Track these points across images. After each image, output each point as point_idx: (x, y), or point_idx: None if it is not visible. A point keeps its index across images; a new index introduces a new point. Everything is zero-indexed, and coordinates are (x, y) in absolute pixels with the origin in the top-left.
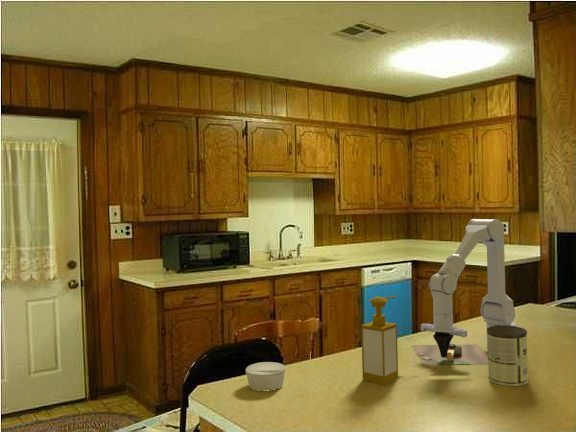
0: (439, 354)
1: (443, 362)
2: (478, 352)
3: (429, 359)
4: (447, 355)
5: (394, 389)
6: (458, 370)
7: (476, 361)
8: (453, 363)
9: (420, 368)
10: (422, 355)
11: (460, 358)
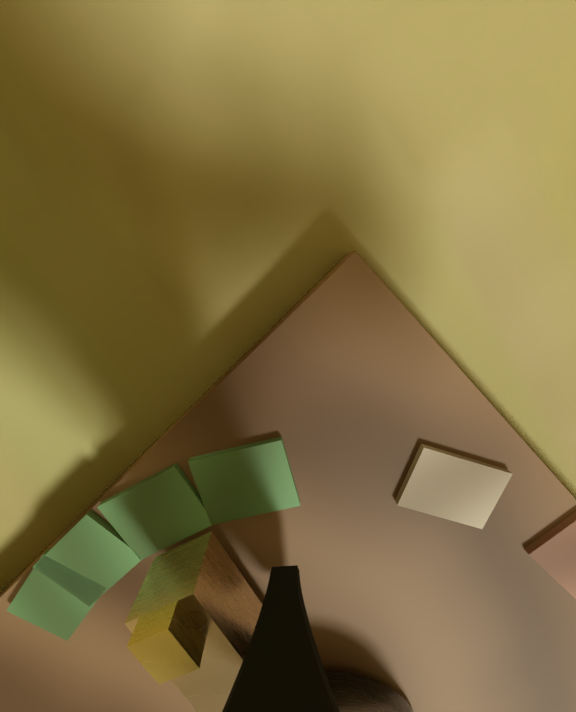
0: (414, 665)
1: (219, 475)
2: None
3: (408, 477)
4: (186, 590)
5: None
6: (52, 441)
7: (38, 687)
8: (123, 513)
9: (377, 232)
10: (542, 541)
11: None
